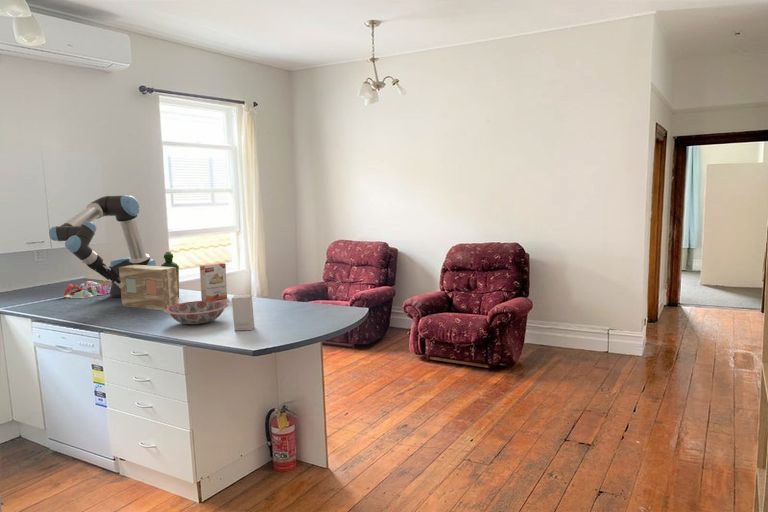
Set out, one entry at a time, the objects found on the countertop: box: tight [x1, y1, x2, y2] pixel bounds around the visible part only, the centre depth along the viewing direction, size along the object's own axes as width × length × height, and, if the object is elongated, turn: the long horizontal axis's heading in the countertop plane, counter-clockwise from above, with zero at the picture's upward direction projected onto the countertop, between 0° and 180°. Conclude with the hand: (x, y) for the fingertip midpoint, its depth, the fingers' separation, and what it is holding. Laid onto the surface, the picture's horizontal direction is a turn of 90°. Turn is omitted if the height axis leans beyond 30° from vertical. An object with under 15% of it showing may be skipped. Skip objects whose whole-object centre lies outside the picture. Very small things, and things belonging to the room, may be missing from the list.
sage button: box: [126, 278, 137, 293], centre depth 317 cm, size 3×8×8 cm, turn 62°
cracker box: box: [199, 262, 228, 301], centre depth 330 cm, size 14×6×21 cm, turn 141°
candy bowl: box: [63, 279, 111, 299], centre depth 357 cm, size 25×24×9 cm
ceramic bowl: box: [164, 300, 229, 325], centre depth 275 cm, size 29×29×8 cm
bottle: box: [160, 250, 180, 298], centre depth 337 cm, size 11×11×28 cm
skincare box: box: [231, 294, 255, 331], centre depth 259 cm, size 8×7×16 cm
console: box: [119, 265, 180, 311], centre depth 316 cm, size 10×34×22 cm, turn 62°
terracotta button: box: [145, 279, 157, 295], centre depth 309 cm, size 3×8×8 cm, turn 62°
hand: (122, 286), depth 310 cm, fingers closed
